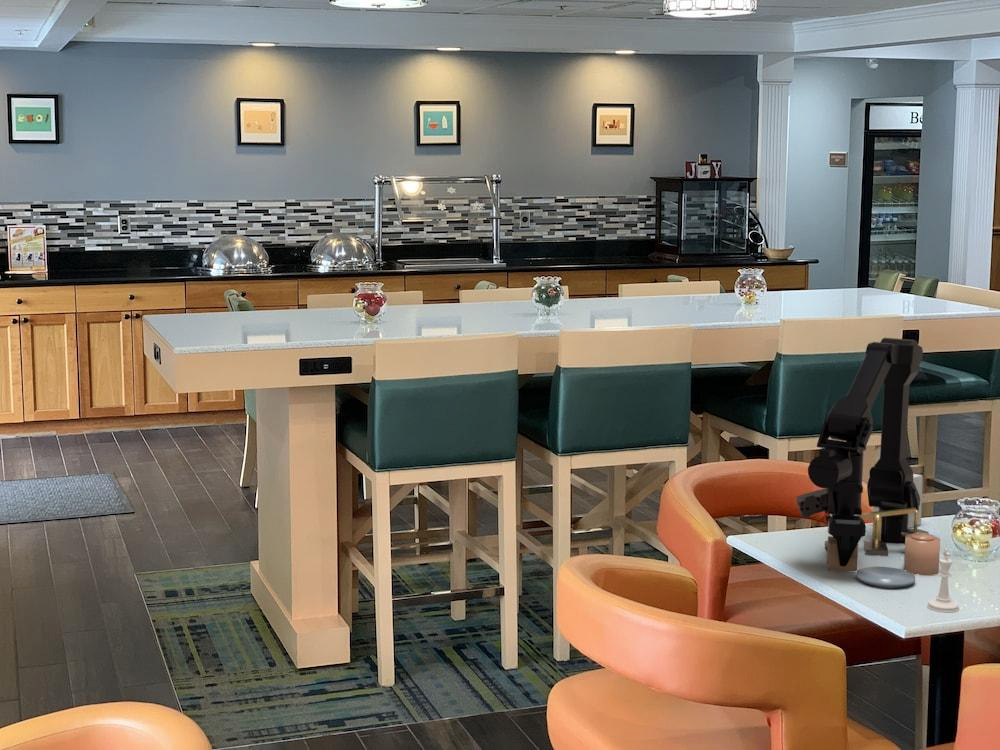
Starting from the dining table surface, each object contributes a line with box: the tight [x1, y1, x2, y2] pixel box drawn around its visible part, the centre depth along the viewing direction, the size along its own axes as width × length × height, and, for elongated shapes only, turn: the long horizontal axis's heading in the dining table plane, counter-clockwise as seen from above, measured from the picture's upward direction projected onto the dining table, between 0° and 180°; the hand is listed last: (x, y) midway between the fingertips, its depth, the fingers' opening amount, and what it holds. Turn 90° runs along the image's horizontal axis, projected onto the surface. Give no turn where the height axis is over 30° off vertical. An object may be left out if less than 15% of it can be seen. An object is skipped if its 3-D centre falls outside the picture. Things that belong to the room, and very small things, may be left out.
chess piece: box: [927, 548, 960, 613], centre depth 213 cm, size 5×5×10 cm
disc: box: [855, 566, 916, 589], centre depth 228 cm, size 10×10×1 cm
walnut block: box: [826, 535, 859, 572], centre depth 236 cm, size 5×5×5 cm
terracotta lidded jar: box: [903, 533, 941, 576], centre depth 234 cm, size 6×6×6 cm
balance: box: [824, 507, 930, 557], centre depth 246 cm, size 6×19×9 cm, turn 79°
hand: (842, 561), depth 236 cm, fingers closed on walnut block, 5 cm apart
